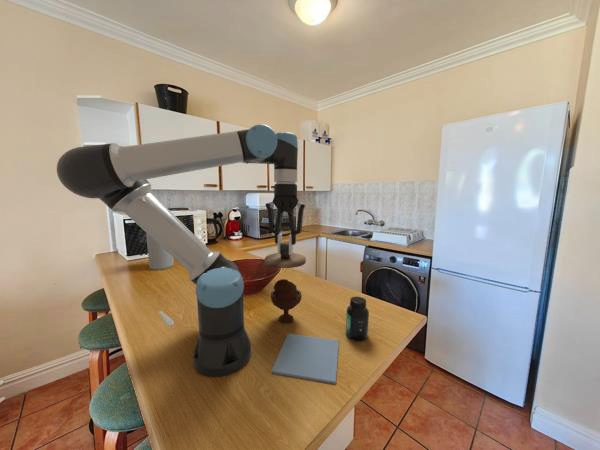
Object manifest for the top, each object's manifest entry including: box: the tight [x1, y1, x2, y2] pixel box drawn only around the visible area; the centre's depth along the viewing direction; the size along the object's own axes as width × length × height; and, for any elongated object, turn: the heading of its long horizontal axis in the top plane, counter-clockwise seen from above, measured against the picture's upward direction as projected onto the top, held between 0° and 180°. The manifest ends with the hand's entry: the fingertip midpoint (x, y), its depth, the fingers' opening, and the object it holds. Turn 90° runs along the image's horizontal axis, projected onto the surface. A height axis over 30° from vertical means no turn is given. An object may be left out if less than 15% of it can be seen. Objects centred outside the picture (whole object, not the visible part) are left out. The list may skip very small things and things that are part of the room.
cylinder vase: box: [145, 232, 175, 271], centre depth 138 cm, size 12×12×25 cm
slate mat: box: [271, 333, 340, 385], centre depth 66 cm, size 16×16×1 cm
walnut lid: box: [264, 242, 307, 269], centre depth 81 cm, size 14×14×6 cm
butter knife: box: [157, 310, 175, 327], centre depth 90 cm, size 1×27×3 cm
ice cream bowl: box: [270, 278, 303, 324], centre depth 84 cm, size 11×11×15 cm
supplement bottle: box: [345, 296, 370, 342], centre depth 75 cm, size 7×7×12 cm
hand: (285, 253), depth 81 cm, fingers closed on walnut lid, 3 cm apart
